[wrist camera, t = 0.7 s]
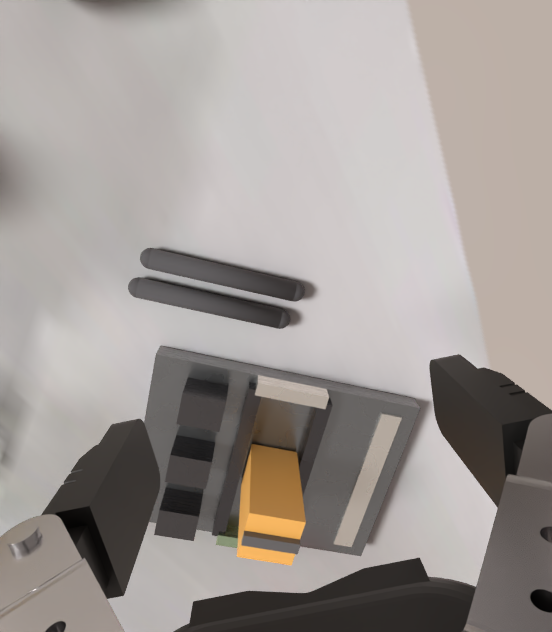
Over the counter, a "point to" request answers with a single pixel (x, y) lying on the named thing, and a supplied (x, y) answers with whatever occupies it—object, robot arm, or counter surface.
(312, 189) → the counter surface
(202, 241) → the counter surface
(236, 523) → the panel
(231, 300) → the pair of grey rods
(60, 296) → the counter surface
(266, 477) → the toggle
